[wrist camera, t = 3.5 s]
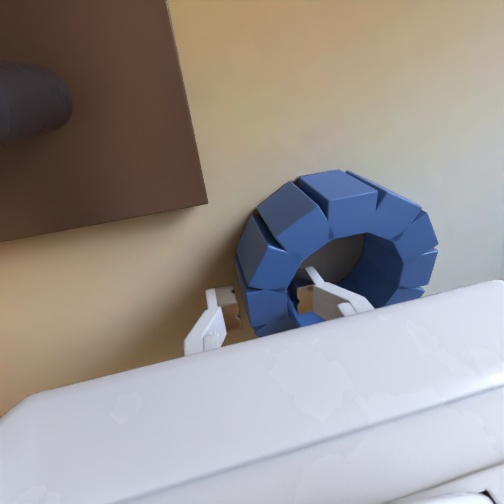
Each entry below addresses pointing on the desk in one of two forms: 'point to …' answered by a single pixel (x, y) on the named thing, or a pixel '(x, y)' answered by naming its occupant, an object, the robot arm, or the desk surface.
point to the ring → (323, 231)
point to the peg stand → (91, 116)
